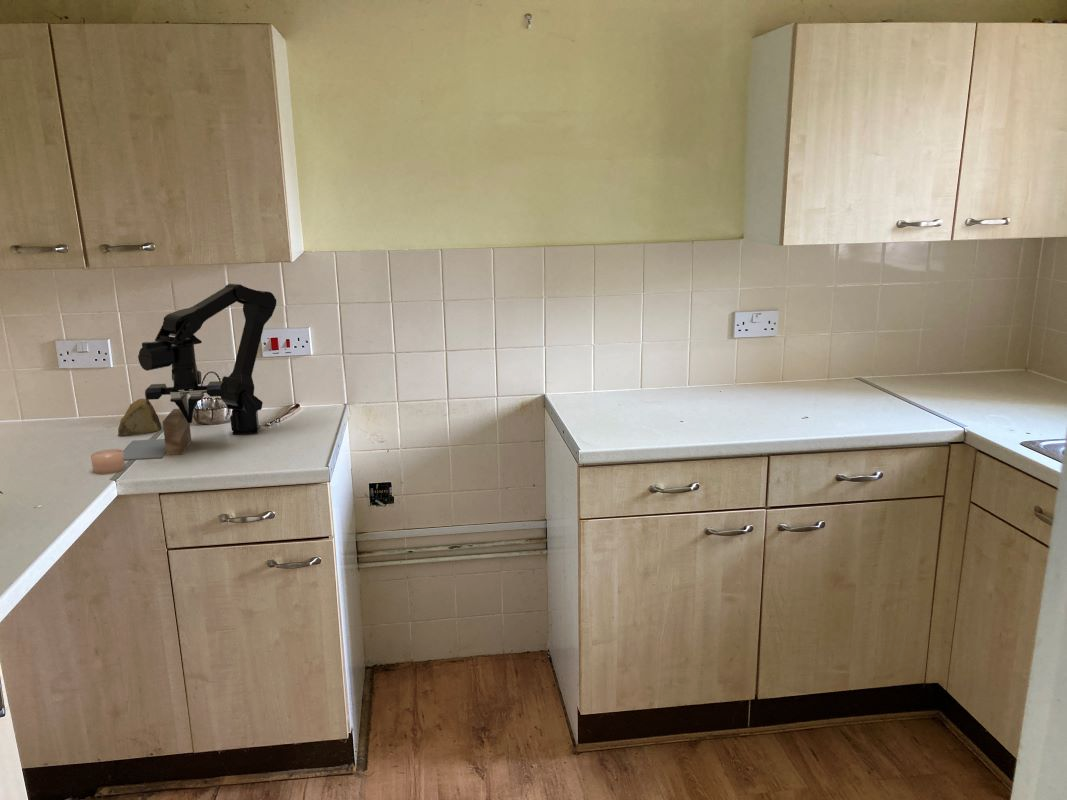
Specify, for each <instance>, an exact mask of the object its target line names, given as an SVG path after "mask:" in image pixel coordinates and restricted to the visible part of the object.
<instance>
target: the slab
mask: <svg viewBox="0 0 1067 800" xmlns="http://www.w3.org/2000/svg"><path fill="white" fill-rule="evenodd" d="M190 425H191V423H188V422H187V420H186V418H185V417H184V415H183V413H182V412H181V410H180V409H179V408H173V409H172V410H171V411H170V413H168V415H167V416H166V417H165V418H164V419H163V420H162V428H163V435H164V439H165V445H166V453H165V454H166V457H168V456H182V455H183V453H184V452H185V451H186V450H187V448H188V446H189V445H190V443H191V442H192V433H191V426H190Z"/></svg>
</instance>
